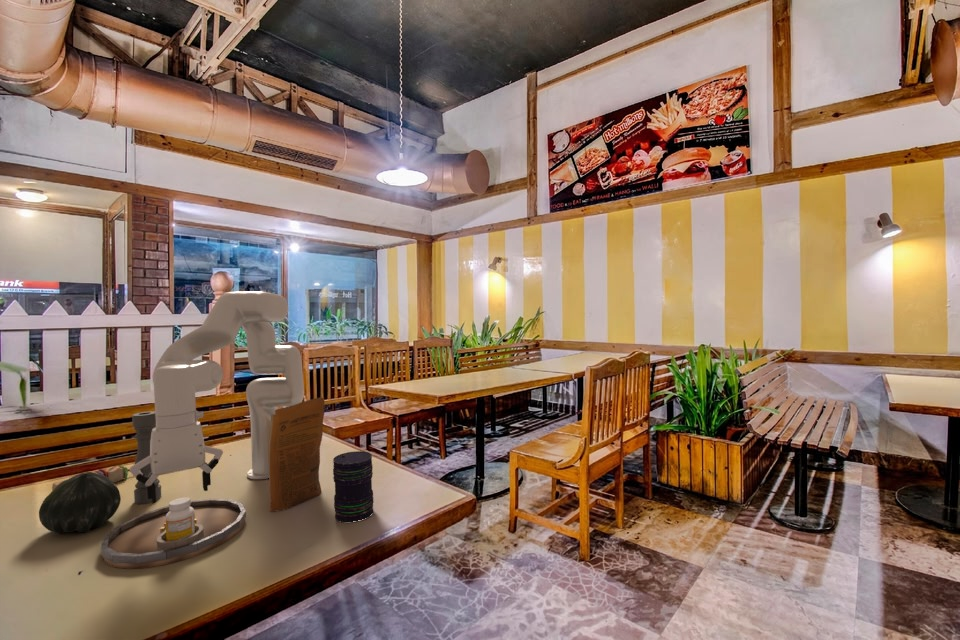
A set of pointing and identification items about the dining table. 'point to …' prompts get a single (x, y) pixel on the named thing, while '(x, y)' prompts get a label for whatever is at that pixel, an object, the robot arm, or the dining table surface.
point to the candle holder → (144, 453)
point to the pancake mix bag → (295, 453)
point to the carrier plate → (152, 531)
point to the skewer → (108, 474)
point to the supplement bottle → (180, 520)
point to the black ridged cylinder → (353, 486)
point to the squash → (80, 503)
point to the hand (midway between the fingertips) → (180, 494)
